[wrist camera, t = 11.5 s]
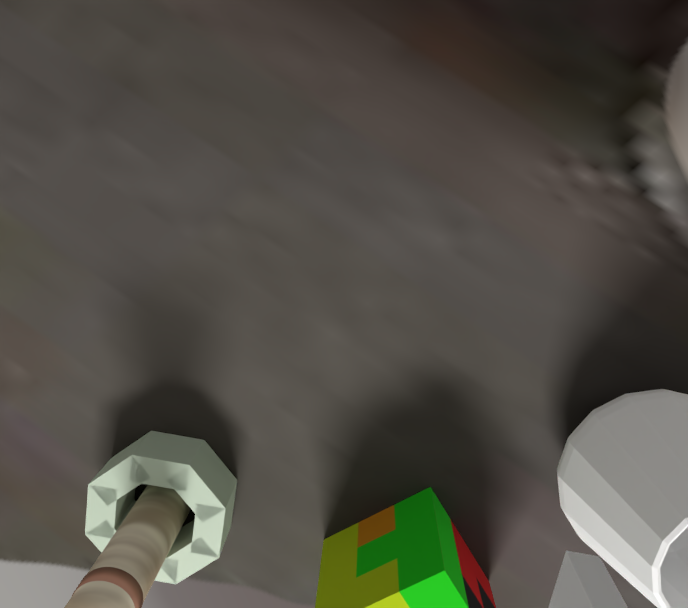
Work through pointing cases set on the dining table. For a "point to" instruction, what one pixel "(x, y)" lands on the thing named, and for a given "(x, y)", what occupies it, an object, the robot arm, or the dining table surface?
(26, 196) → the dining table surface
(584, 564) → the robot arm
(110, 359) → the dining table surface
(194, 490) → the bead
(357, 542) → the puzzle toy
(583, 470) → the cup
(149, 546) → the striped rounded cylinder
